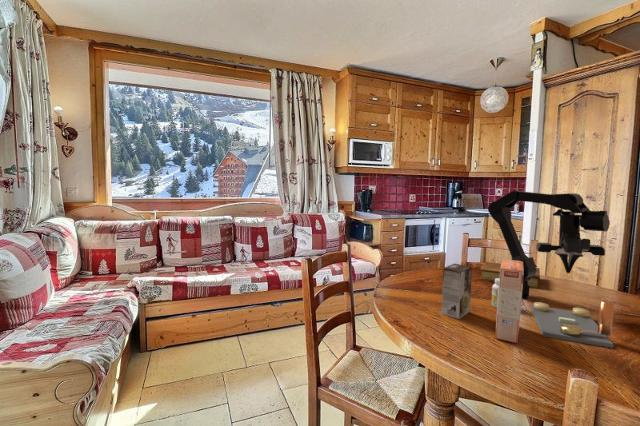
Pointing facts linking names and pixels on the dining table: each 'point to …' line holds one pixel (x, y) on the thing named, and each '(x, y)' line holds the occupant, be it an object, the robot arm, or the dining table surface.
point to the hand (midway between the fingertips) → (567, 272)
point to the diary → (493, 271)
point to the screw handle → (603, 322)
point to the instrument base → (579, 317)
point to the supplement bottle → (495, 292)
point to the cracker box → (509, 300)
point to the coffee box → (456, 290)
